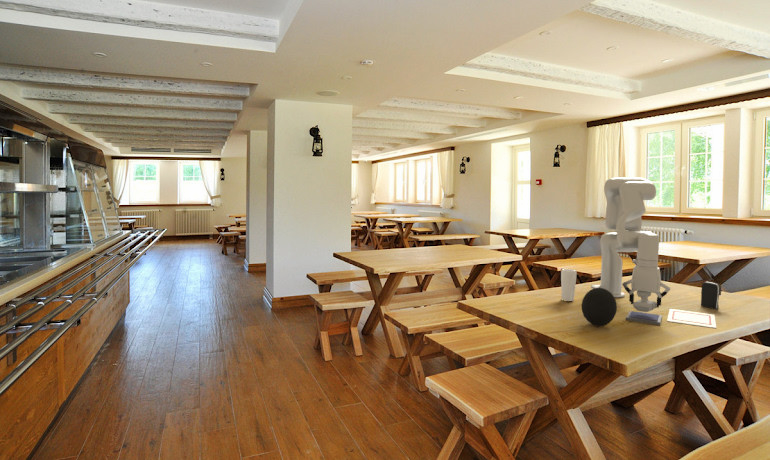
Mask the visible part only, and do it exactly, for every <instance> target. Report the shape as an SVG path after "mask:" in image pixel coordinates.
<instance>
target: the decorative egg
mask: <svg viewBox="0 0 770 460" xmlns="http://www.w3.org/2000/svg"><path fill="white" fill-rule="evenodd" d="M617 307H618V306H617V301H616V297H614V296H613V295H612V294H611V293H610V292H609V291H608V290H606V289H604V288H594V289H593V288H591V289H590V290H588V291H587V292H586V294H584V296H583V298H582V302H581V311H582V315H583V316H584V318H585V320H586V321H587V322H588V323H589V324H590V325H593V326H595V325H596V326H595V327H604V326H607V325H608V324H610V323H611V322H612V321H613V320H614V319H615V317H616V313H617V311H618V310H617Z"/></svg>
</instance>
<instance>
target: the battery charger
mask: <svg viewBox="0 0 770 460" xmlns="http://www.w3.org/2000/svg"><path fill="white" fill-rule="evenodd" d="M700 291H701V292H700V294H701V295H700V298H701V299H700V300H701V301H700V305H701V306H702V307H705V308H709V309H714V310H718V309H719V299H720V296H721V295H722V285H721V284H719V283H717V282H714V281H713V282H711V281H703V283H702V284H701V290H700Z"/></svg>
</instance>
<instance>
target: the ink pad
mask: <svg viewBox="0 0 770 460" xmlns="http://www.w3.org/2000/svg"><path fill="white" fill-rule="evenodd" d="M662 319H663V315H661V314H655V313H649V312H643V311H633V310H629V311H628V312H627V315H626V316H625V321H627V320H629V322H633V321H635V323H640V322H641V323H642V324H647V325H653V324H654V325H656V326H661V323H662Z"/></svg>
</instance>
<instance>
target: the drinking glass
mask: <svg viewBox="0 0 770 460" xmlns="http://www.w3.org/2000/svg"><path fill="white" fill-rule="evenodd" d="M560 281H561V283H560V285H561V286H560V287H561V300H562V299H563V300H566V301H572V302H574V301H573V300H575V289H576V284H577V283H576V282H577V270H576V269H571V268H562V269H561V272H560ZM563 300H562V301H563ZM566 301H565V302H566Z"/></svg>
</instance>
